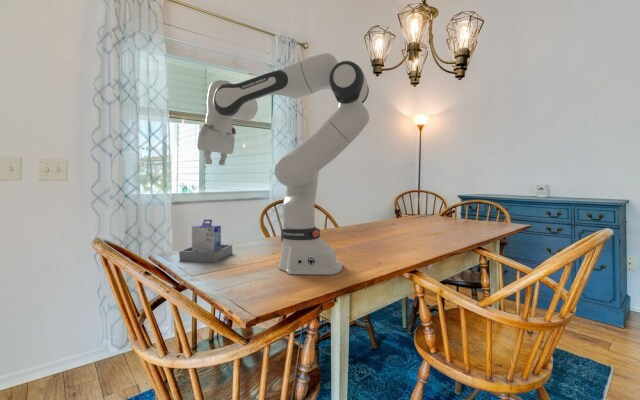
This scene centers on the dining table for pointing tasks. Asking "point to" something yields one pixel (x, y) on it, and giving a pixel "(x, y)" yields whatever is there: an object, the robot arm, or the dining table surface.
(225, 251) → the bin
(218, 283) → the dining table surface
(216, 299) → the dining table surface
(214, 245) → the ink cartridge box
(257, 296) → the dining table surface
